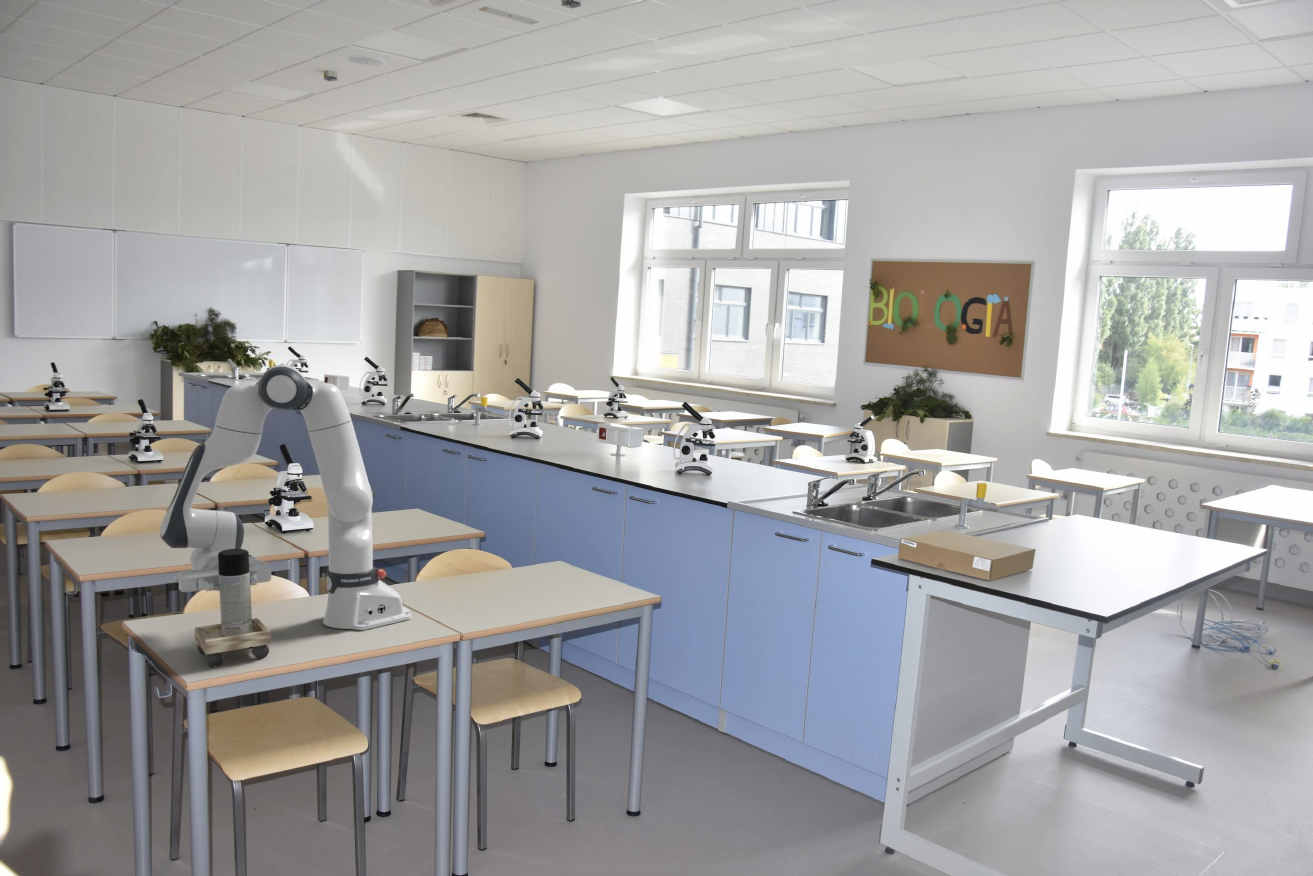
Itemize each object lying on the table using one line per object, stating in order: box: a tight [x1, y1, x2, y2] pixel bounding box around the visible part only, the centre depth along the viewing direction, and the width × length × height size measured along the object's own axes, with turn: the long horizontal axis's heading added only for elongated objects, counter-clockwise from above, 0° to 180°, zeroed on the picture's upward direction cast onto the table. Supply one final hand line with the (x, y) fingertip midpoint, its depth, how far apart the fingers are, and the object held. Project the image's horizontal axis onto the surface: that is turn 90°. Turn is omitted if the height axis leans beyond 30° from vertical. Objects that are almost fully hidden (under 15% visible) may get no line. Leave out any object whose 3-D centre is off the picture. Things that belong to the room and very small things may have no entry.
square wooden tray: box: [194, 617, 272, 668], centre depth 223 cm, size 14×12×6 cm
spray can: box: [218, 548, 253, 637], centre depth 222 cm, size 7×7×20 cm
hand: (232, 584), depth 221 cm, fingers open, 8 cm apart
